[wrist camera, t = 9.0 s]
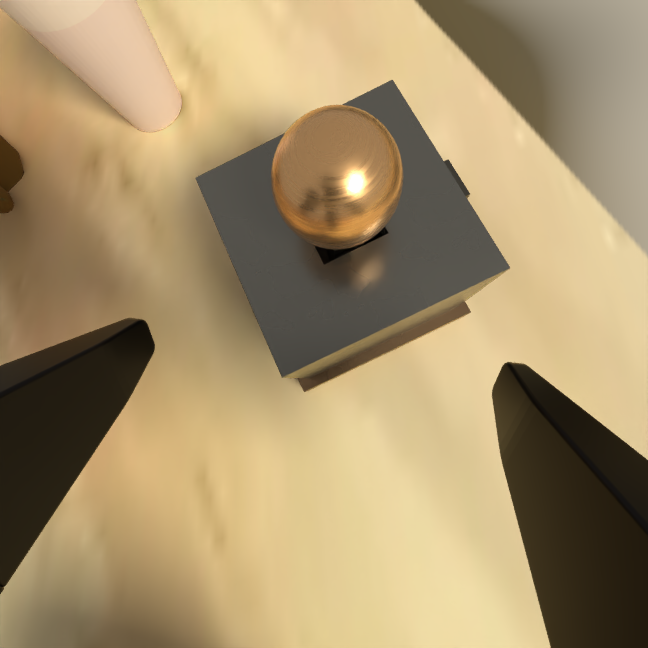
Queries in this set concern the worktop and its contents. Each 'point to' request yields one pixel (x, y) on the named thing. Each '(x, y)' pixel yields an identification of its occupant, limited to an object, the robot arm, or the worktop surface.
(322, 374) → the copper ball lever box
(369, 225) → the copper ball knob
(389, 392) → the worktop surface
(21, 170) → the rolling pin
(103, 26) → the smoothie
